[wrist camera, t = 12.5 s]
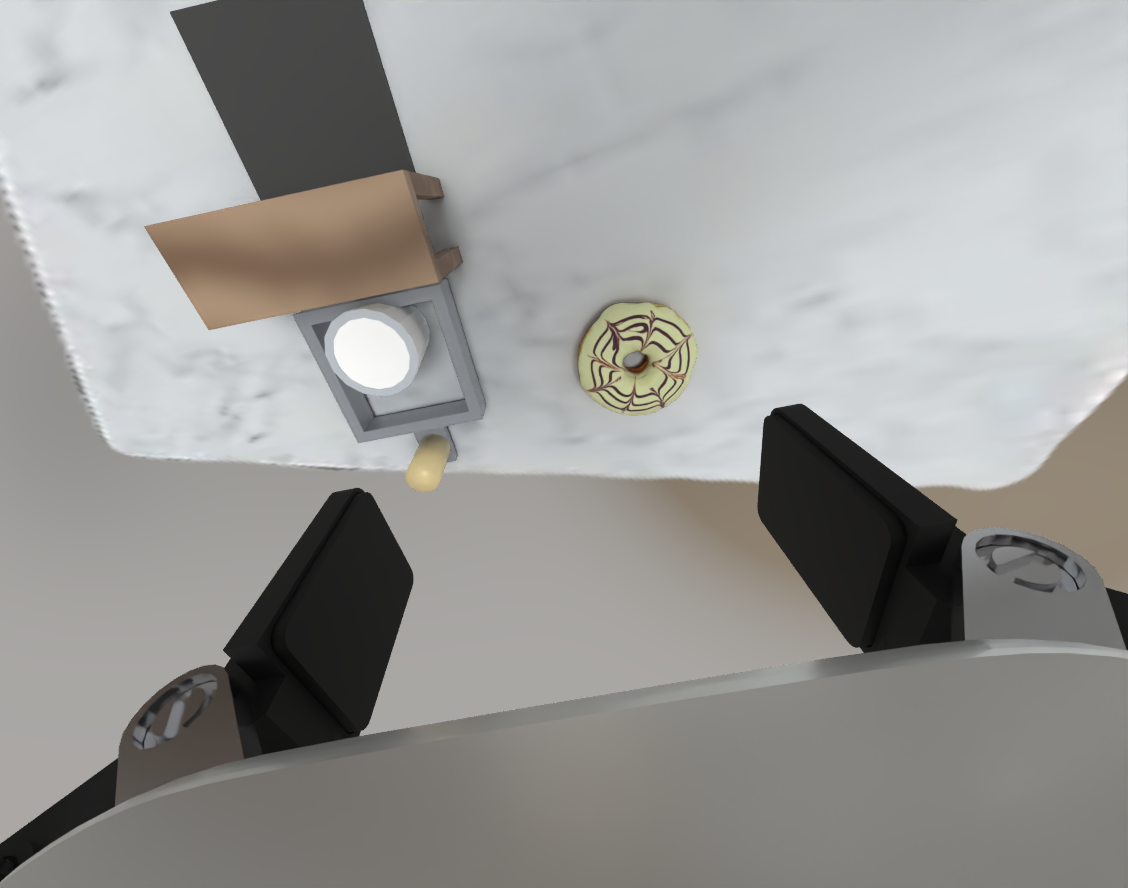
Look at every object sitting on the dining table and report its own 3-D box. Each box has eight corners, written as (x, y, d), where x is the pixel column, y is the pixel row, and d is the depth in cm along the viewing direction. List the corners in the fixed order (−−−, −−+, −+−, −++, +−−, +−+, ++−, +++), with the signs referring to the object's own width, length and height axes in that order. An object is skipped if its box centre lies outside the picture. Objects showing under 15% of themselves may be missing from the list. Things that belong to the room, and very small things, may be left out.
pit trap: (172, 13, 26) (169, 11, 26) (352, -31, 26) (351, -32, 26) (266, 208, 32) (264, 208, 32) (416, 175, 32) (415, 175, 31)
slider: (279, 243, 33) (226, 251, 27) (426, 211, 32) (403, 213, 27) (388, 468, 44) (367, 507, 38) (499, 447, 43) (494, 483, 38)
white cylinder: (351, 350, 38) (316, 378, 32) (366, 277, 35) (331, 293, 29) (425, 377, 40) (406, 409, 34) (446, 310, 37) (428, 331, 31)
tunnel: (250, 219, 32) (143, 226, 24) (438, 178, 32) (402, 169, 23) (289, 298, 35) (208, 330, 27) (462, 261, 35) (438, 282, 26)
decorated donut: (591, 285, 37) (597, 293, 33) (703, 310, 38) (718, 320, 35) (566, 393, 42) (569, 409, 38) (666, 410, 43) (676, 427, 40)
